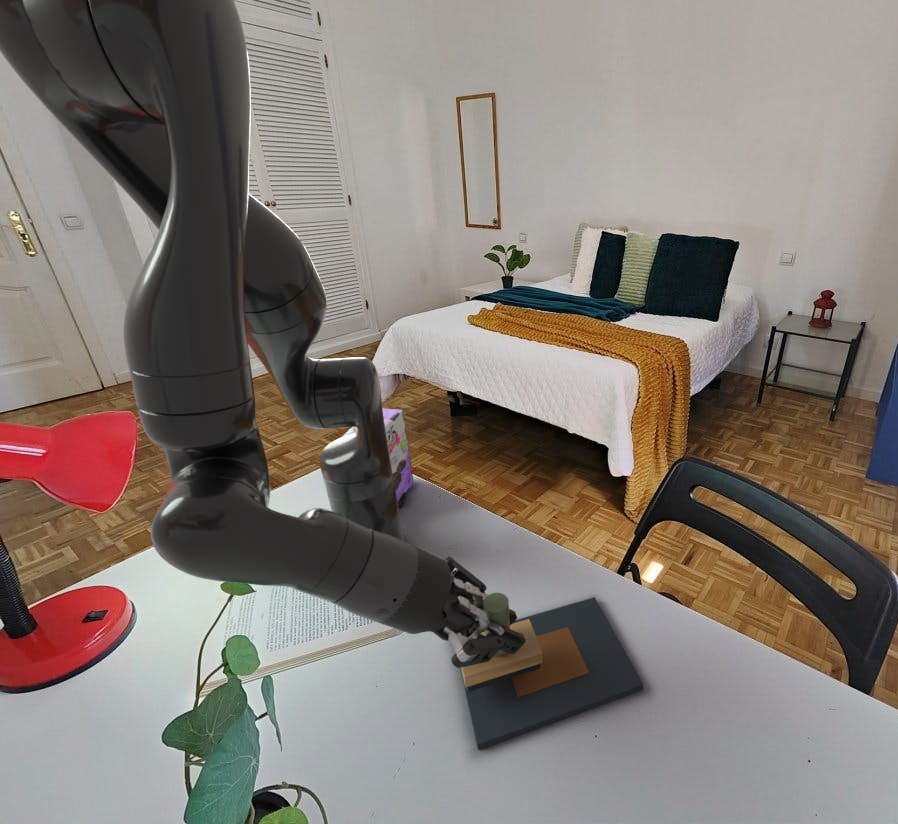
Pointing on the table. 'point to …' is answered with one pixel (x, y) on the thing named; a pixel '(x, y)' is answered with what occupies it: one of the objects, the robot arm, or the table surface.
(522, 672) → the brush
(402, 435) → the candy box
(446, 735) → the table surface
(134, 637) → the table surface
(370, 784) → the table surface
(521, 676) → the desk mat
